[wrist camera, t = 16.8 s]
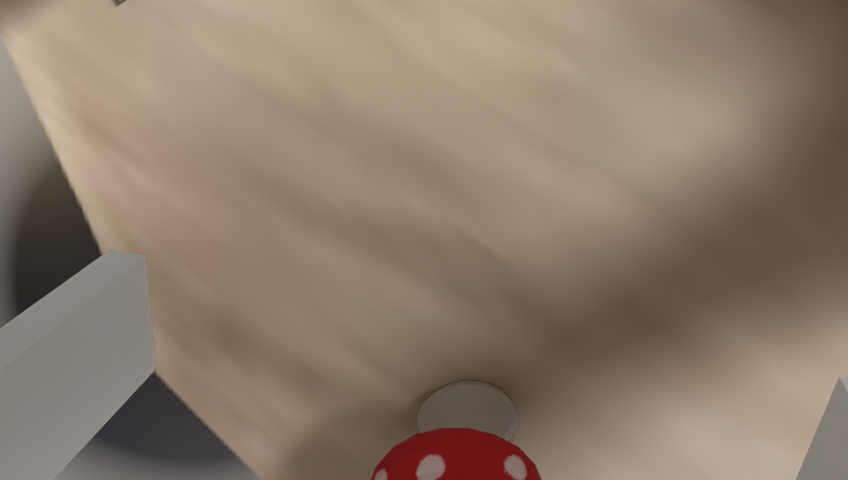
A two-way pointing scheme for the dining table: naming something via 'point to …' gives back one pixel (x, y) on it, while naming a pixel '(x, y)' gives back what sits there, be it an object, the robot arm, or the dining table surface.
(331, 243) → the dining table surface
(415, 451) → the decorative mushroom
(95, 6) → the dining table surface
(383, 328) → the dining table surface
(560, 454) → the dining table surface
